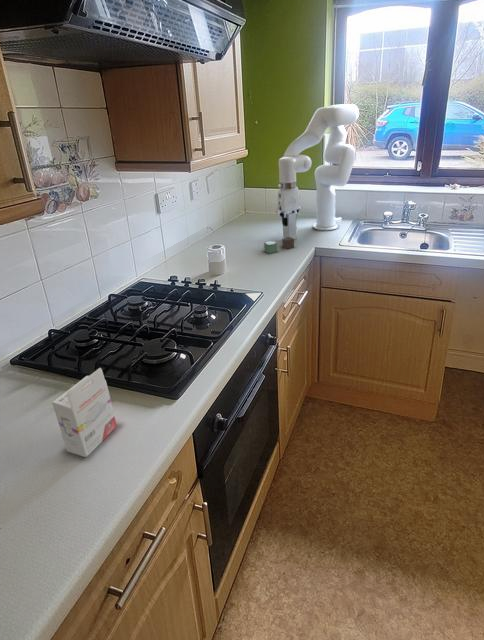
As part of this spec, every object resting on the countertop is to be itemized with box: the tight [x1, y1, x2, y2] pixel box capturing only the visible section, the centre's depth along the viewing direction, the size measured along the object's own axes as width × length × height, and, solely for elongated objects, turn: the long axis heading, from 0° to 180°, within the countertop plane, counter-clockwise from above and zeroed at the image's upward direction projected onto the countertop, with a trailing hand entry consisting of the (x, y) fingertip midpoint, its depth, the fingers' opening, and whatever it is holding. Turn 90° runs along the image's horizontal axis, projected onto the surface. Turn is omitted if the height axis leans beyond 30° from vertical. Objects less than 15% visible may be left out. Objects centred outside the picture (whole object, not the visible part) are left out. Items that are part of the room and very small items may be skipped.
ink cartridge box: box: [52, 367, 118, 458], centre depth 77 cm, size 9×5×15 cm, turn 158°
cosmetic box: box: [282, 211, 298, 240], centre depth 191 cm, size 6×4×12 cm
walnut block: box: [281, 237, 295, 250], centre depth 183 cm, size 4×4×4 cm
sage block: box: [263, 240, 278, 255], centre depth 178 cm, size 4×4×4 cm
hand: (289, 224), depth 191 cm, fingers closed on cosmetic box, 4 cm apart
